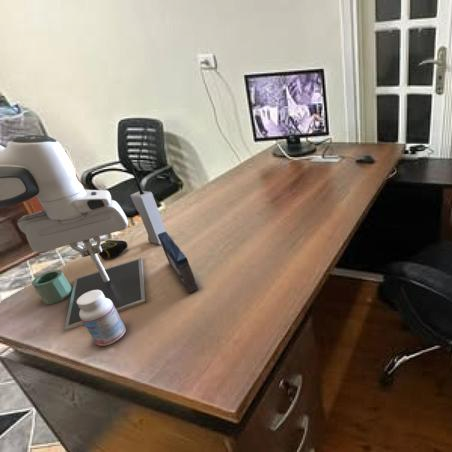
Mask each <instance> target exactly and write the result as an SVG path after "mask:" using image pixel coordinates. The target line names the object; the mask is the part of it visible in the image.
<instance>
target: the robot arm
mask: <svg viewBox="0 0 452 452" xmlns="http://www.w3.org/2000/svg"><path fill="white" fill-rule="evenodd" d="M76 172H77V171H76V169H75V167H74V165H73V163H72V160H71V159H70V157H69V155H68V153H67V152H66V150H65V149H64V147H63V146H62V144H61V143H60V142H59V141H58V140H57V139H55V138H54V137H51V136H48V135H38V134H37V135H35V134H33V135H24V136H18V137H15V138H13V139H12V140H11V141H10V143H9V144H8V145H5V144H3V143H2V142H0V209H6V208H11V207H15V206H16V205H19V204H21V203H22V204H23V203H24V202H27V201H29V200H31V199H33V198H37V200H38V202H39V204H40V205H41V207H42V209H43V210H40V211H36V212H34V213H27V214H24V215H21V217H20V218H18V219H17V223H16V225H17V226H18V229H19V230H20V231H21V232H22V233H24V234H25V238H26V239H27V242H28V244H29V247H30V248H31V251H33V252H35V253H37V254H41V253H45V252H48V251H52V250H56V249H59V248H62V247H66V246H67V247H68V246H70V248H71V249H72V250H74V251H75V252H78V253H80V255H81V257H82V258H86V257H91V256H90V254H89V253H88V250H87V249H86V247H82V246H81V245H79V243H80V242H83V241H85V240H88V239H89V240H91V239H93V241H94V242H96V244H92V246H93V251H94V253H95V254H97V255H98V253H100V252H102V248H101V246H100V245H101V241H102V236H106V235H109V234H113V233H117V232H120V231H124V230H126V229H128V225H129V220H128V217H127V215H126V213H125V211H124V210H123V208H122V207H121V205H120V204H119V203H118V202H117V201H116V200H114V199H112V195H111V193H110V191H109V190H106V189H85V187H84V186H83V184H82V183H81V182H80V181H79V179H78V178H77V174H76Z"/></svg>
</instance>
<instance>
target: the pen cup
mask: <svg viewBox="0 0 452 452" xmlns="http://www.w3.org/2000/svg"><path fill="white" fill-rule="evenodd" d="M31 285H32V287H33V289H34V290H35V291H36V293H37V294H38V296H39V297H40V299H41V301H43V303H44V304H46V305H52V304H57V303H59V302H62V301H64V300H66V299H67V298H68V297H70V296H71V294H72V289H73V286H71V284H70V282H69V281H68V279H67V277H66V276H65V274H64V272H63V271H62V270H61V269H54V270H49V271H46V272H43V273H42V274H40V275H37V276H36V277H35V278H34V279H33V280H32V281H31Z"/></svg>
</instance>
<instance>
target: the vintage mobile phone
mask: <svg viewBox="0 0 452 452" xmlns="http://www.w3.org/2000/svg"><path fill="white" fill-rule="evenodd" d="M130 170H131V172H132V175H133V178H134V180H135V183H136V186H137V188H138V191H136V192H134V193H132V194H130V199H131V201H132V202H133V203H132V204H134V207H135V209H136V211H137V212H138V214H139V216H140V219H141V221H142V224H143V226H144V228H145V231H146V233H147V240H148V242H149V243H150V244H155V245H160V246H162V245H161V242H160V240H159V237H158V234H160V233H163V232H167V229H166V226H165V224H164V221H163V218H162V216H161V214H160V211H159V208H158V205H157V202H156V200H155V197H154V194H153V193H152V192H151V191H146V190H143V188H142V186H141V183H140V180H139V179H138V177H137V174H136V172H135V169H134V167H130Z"/></svg>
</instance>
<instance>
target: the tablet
mask: <svg viewBox="0 0 452 452" xmlns="http://www.w3.org/2000/svg"><path fill="white" fill-rule="evenodd" d="M104 269H105V271H106V273H107V275H108V277H109V279H110V280H109V281H107V282H104V281H103V279H102V277H101V275H100V273H99V272H98V271H95V272H92V273H89V274H86V275H82V276H79V277H76V278H74V281H73V285H72V293H71V294H70V299H69V304H68V308H67V313H66V318H65V323H64V328H63V329H64V330H65V332H68V331H70V330H73V329H76V328H78V327H81V326H83V325H84V323H83V322H82V320H81V318H80V316H79V312H80V308H79V306H78V304H77V299H78V298H79V297H80V296H81V295H83V294H85V293H87V292H89V291H92V290H100V291H102V293H103V294H104V296H105V298H108V299H110V300H111V301H112V303H113V305H114V306H115V308H116V310H117V312H118V313H120V312H123V311H126V310H129V309H131V308H134V307H137V306H140V305H142V304H143V305H144V304H146V303H147V295H146V284H145V275H144V265H143V258H142V257H140V258H136V259H133V260H130V261H126V262H124V263H121V264H120V263H119V264H117V265H115V266H111V267H108V268H104ZM84 326H85V325H84Z"/></svg>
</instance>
